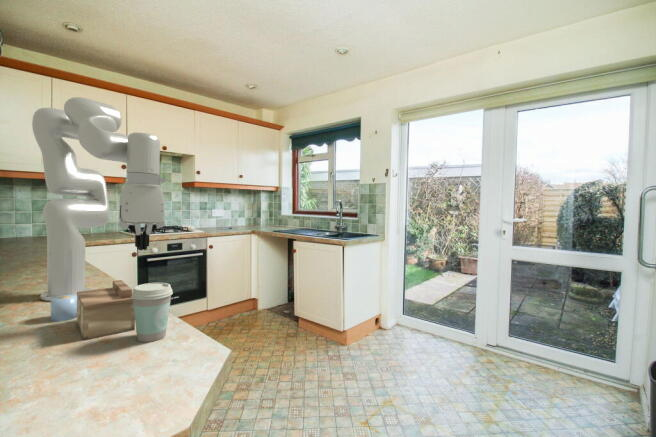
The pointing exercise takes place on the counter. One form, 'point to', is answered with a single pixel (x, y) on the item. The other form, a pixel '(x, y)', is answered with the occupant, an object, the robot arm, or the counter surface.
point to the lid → (106, 296)
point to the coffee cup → (151, 310)
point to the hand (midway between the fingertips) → (142, 249)
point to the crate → (105, 320)
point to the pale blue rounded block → (63, 308)
